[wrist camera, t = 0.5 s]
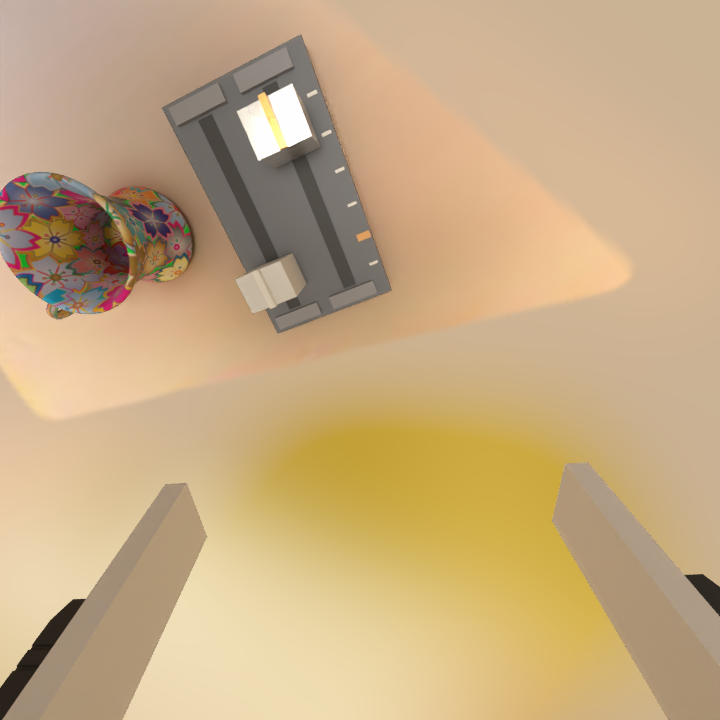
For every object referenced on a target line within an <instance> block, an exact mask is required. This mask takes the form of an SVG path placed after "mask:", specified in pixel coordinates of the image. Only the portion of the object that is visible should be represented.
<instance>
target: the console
mask: <svg viewBox="0 0 720 720" xmlns="http://www.w3.org/2000/svg"><path fill="white" fill-rule="evenodd" d="M290 84H293V86H294V88H295V89H296V91H297V93H298V94H299V96H300V98H301V99H302V101H303V103H304V104H305V107H306V109H307V112H308V115H309V117H310V120H311V123H312V125H313V128H314V131H315V134H316V136H317V139H318V142H319V144H320V148H318V149H316V150H314V151H311V152H309V153H307V154H305V155H303V156H301V157H298V158H296V159H294V160H292V161H290V162H288V163H286V164H283V165H281V166H279V167H277V168H275V167H272V166H270V165H267V164H265V163H263V162H260V161H258V158H257V156H256V154H255V152H254V149H253V147H252V145H251V143H250V140H249V138H248V136H247V134H246V131H245V129H244V127H243V125H242V122H241V120H240V118H239V116H238V113H237V111H239V110H240V109H242V108H244V107H246V106H248V105H250V104H252V103H254V102H256V101H258V100H259V98H258V95H260V94H262V93H264V92H265V93H266V94H267V96H268V95H270V94H272V93H274V92H276V91H278V90H280V89H282V88H284V87H286V86H288V85H290ZM162 109H163V111H164V113H165V115H166V117H167V118H168V120H169V122H170V124H171V126H172V128H173V130H174V132H175V134H176V136H177V138H178V140H179V142H180V144H181V146H182V148H183V150H184V152H185V154H186V155H187V157H188V159H189V161H190V163H191V165H192V167H193V169H194V171H195V173H196V175H197V177H198V179H199V181H200V183H201V185H202V187H203V189H204V191H205V192H206V194H207V196H208V198H209V200H210V202H211V204H212V206H213V208H214V210H215V212H216V214H217V216H218V218H219V220H220V222H221V224H222V226H223V228H224V229H225V231H226V233H227V235H228V237H229V239H230V241H231V243H232V245H233V247H234V249H235V251H236V253H237V255H238V257H239V259H240V261H241V263H242V264H243V266H244V268H245V270H246V272H247V273H245V274H244V275H242V276H240V277H238V278H237V279H235V281H236V283H237V285H238V287H239V289H240V291H241V293H242V295H243V296H244V298H245V300H246V302H247V304H248V306H249V308H250V310H251V311H252V313H253V314H254V313H257V312H259V311H262V310H264V309H266V311H267V313H268V315H269V317H270V319H271V321H272V323H273V325H274V327H275V329H276V331H277V333H281V332H283V331H286V330H289V329H291V328H294V327H296V326H299V325H302V324H304V323H307V322H310V321H312V320H315V319H318V318H320V317H323V316H326V315H328V314H331V313H334V312H336V311H339V310H341V309H344V308H347V307H349V306H352V305H355V304H357V303H360V302H363V301H365V300H368V299H371V298H373V297H376V296H379V295H381V294H384V293H386V292H389V291H391V287H390V284H389V281H388V279H387V276H386V273H385V270H384V267H383V264H382V262H381V259H380V256H379V253H378V250H377V247H376V245H375V242H374V239H373V236H372V233H371V230H370V228H369V225H368V222H367V219H366V216H365V213H364V211H363V208H362V205H361V202H360V199H359V196H358V194H357V191H356V188H355V185H354V182H353V179H352V177H351V174H350V171H349V168H348V165H347V162H346V160H345V157H344V154H343V151H342V148H341V145H340V143H339V140H338V137H337V134H336V131H335V128H334V126H333V123H332V120H331V117H330V114H329V111H328V109H327V106H326V103H325V100H324V97H323V94H322V92H321V89H320V86H319V83H318V80H317V77H316V75H315V72H314V69H313V66H312V63H311V60H310V58H309V55H308V52H307V49H306V46H305V44H304V41H303V38H302V36H301V35H299V36H297V37H295V38H293V39H291V40H289V41H287V42H286V43H284V44H282V45H280V46H278V47H276V48H274V49H272V50H270V51H268V52H267V53H265V54H263V55H261V56H259V57H257V58H255V59H253V60H251V61H250V62H248V63H246V64H244V65H242V66H240V67H238V68H236V69H234V70H233V71H231V72H229V73H227V74H225V75H223V76H221V77H219V78H217V79H215V80H214V81H212V82H210V83H208V84H206V85H204V86H202V87H200V88H198V89H197V90H195V91H193V92H191V93H189V94H187V95H185V96H183V97H181V98H179V99H178V100H176V101H174V102H172V103H170V104H168V105H166V106H164V107H162Z"/></svg>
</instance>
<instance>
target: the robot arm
mask: <svg viewBox="0 0 720 720" xmlns="http://www.w3.org/2000/svg"><path fill="white" fill-rule="evenodd" d="M552 522H553V523H554V525H555V527H556V529H557V531H558V532H559V534H560V536H561V537H562V539H563V541H564V542H565V544H566V546H567V548H568V549H569V551H570V552H571V554H572V556H573V558H574V560H575V561H576V563H577V565H578V566H579V568H580V570H581V571H582V573H583V575H584V576H585V578H586V580H587V582H588V583H589V585H590V587H591V588H592V590H593V592H594V594H595V595H596V597H597V599H598V600H599V602H600V604H601V606H602V607H603V609H604V611H605V612H606V614H607V616H608V618H609V619H610V621H611V623H612V624H613V626H614V628H615V629H616V631H617V633H618V634H619V636H620V638H621V640H622V641H623V643H624V645H625V647H626V648H627V650H628V652H629V653H630V655H631V657H632V659H633V660H634V662H635V664H636V665H637V667H638V669H639V670H640V672H641V674H642V676H643V677H644V679H645V681H646V682H647V684H648V686H649V688H650V689H651V691H652V693H653V694H654V696H655V698H656V699H657V701H658V703H659V705H660V706H661V708H662V710H663V711H664V713H665V715H666V716H667V718H668V720H720V587H719V586H718V585H716V584H715V583H714V582H712V581H711V580H710V579H708V578H707V577H705V576H704V575H703V574H698V575H684V574H683V573H682V572H681V571H680V569H679V568H678V567H677V566H676V565H675V564H674V562H673V561H672V560H671V559H670V558H669V557H668V556H667V554H666V553H665V552H664V551H663V550H662V548H661V547H660V546H659V545H658V544H657V543H656V541H655V540H654V539H653V538H652V537H651V535H650V534H649V533H648V532H647V531H646V530H645V528H644V527H643V526H642V525H641V524H640V523H639V521H638V520H637V519H636V518H635V517H634V516H633V514H632V513H631V512H630V511H629V510H628V509H627V507H626V506H625V505H624V504H623V503H622V502H621V500H620V499H619V498H618V497H617V496H616V494H615V493H614V492H613V491H612V490H611V489H610V488H609V486H608V485H607V484H606V483H605V482H604V480H603V479H602V478H601V477H600V476H599V475H598V473H597V472H596V471H595V470H594V469H593V468H592V466H591V465H590V464H589V463H569V464H565V466H564V471H563V475H562V480H561V484H560V488H559V493H558V497H557V501H556V506H555V510H554V514H553V519H552ZM206 537H207V535H206V533H205V530H204V527H203V525H202V522H201V520H200V517H199V514H198V512H197V509H196V506H195V504H194V501H193V499H192V496H191V493H190V491H189V488H188V486H187V484H186V483H179V484H165V486H164V487H163V488H162V490H161V491H160V493H159V494H158V496H157V497H156V499H155V500H154V502H153V503H152V504H151V506H150V507H149V509H148V510H147V512H146V513H145V515H144V516H143V517H142V519H141V520H140V522H139V523H138V525H137V526H136V527H135V529H134V530H133V532H132V533H131V535H130V536H129V538H128V539H127V540H126V542H125V543H124V545H123V546H122V548H121V549H120V551H119V552H118V554H117V555H116V556H115V558H114V559H113V561H112V562H111V564H110V565H109V567H108V568H107V569H106V571H105V572H104V574H103V575H102V577H101V578H100V580H99V581H98V582H97V584H96V585H95V587H94V588H93V590H92V591H91V593H90V594H89V595H88V597H87V598H86V599H73V600H72V601H71V602H70V603H69V604H68V605H66V606H65V607H64V608H63V609H62V610H61V611H60V612H59V613H58V614H57V615H56V616H55V617H54V618H53V619H51V620H50V622H49V623H48V624H47V626H46V627H45V628H44V630H43V631H42V632H41V634H40V635H39V636H38V638H37V639H36V640H35V642H34V643H33V645H32V648H31V650H28V651H27V653H26V654H25V655H24V657H23V658H22V659H21V661H20V662H19V664H18V665H17V668H16V670H15V671H13V672H12V673H11V674H10V676H9V677H8V678H7V680H6V681H5V682H4V684H3V685H2V686H1V688H0V720H122V719H123V717H124V715H125V713H126V710H127V709H128V706H129V704H130V702H131V700H132V698H133V696H134V693H135V691H136V689H137V687H138V685H139V683H140V680H141V678H142V676H143V674H144V672H145V670H146V667H147V665H148V663H149V661H150V659H151V657H152V654H153V652H154V650H155V648H156V646H157V644H158V641H159V639H160V637H161V635H162V633H163V631H164V629H165V626H166V624H167V622H168V620H169V618H170V616H171V613H172V611H173V609H174V607H175V605H176V603H177V600H178V598H179V596H180V594H181V591H182V590H183V587H184V585H185V583H186V581H187V578H188V577H189V574H190V572H191V570H192V568H193V566H194V564H195V561H196V559H197V557H198V555H199V553H200V551H201V548H202V546H203V544H204V542H205V540H206Z"/></svg>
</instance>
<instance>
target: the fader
mask: <svg viewBox="0 0 720 720" xmlns="http://www.w3.org/2000/svg"><path fill="white" fill-rule="evenodd" d="M258 98H259V100H258V101H256V102H254V103H252V104H250V105H248V106H246V107H244V108H242V109H240V110H239V111H237V113H238V116H239V118H240V120H241V122H242V125H243V127H244V129H245V131H246V134H247V136H248V138H249V140H250V143H251V145H252V147H253V149H254V152H255V154H256V156H257V158H258V161H260V162H263V163H265V164H267V165H270V166H272V167H275V168H277V167H279V166H281V165H283V164H286V163H288V162H290V161H292V160H294V159H296V158H298V157H301V156H303V155H305V154H307V153H309V152H311V151H314V150H316V149H318V148H320V144H319V142H318V139H317V136H316V134H315V131H314V128H313V125H312V123H311V120H310V117H309V115H308V112H307V109H306V107H305V104H304V103H303V101H302V99H301V98H300V96H299V94H298V93H297V91H296V89H295V88H294V86H293V84H290V85H288V86H286V87H284V88H282V89H280V90H278V91H276V92H274V93H272V94H270V95H268V96H267V94H266V93H265V92H264V93H262V94H260V95H258Z"/></svg>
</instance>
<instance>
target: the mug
mask: <svg viewBox="0 0 720 720" xmlns="http://www.w3.org/2000/svg"><path fill="white" fill-rule="evenodd" d="M192 247H193V246H192V237H191V232H190V229H189V227H188V224H187V222H186V220H185V218H184V217H183V215H182V214H181V212H180V211H179V210H178V209H177V207H176V206H175V205H174V204H173V203H172V202H171V201H169V200H168V199H167V198H165V197H164V196H162V195H161V194H159V193H157V192H155V191H153V190H150V189H147V188H143V187H126V188H122V189H120V190H118V191H116V192H114V193H112V194H111V195H110V196H109V197H105V196H101V195H99V194H97V193H96V192H95V191H93V190H92V189H90V188H89V187H87V186H86V185H84V184H82V183H80V182H78V181H76V180H74V179H72V178H69V177H66V176H63V175H59V174H55V173H47V172H34V173H28V174H25V175H22V176H19V177H17V178H15V179H14V180H12V181H11V182H9V183H8V184H7V185H6V186H5V187H4V188H3V189H2V191H1V192H0V252H1V254H2V256H3V258H4V260H5V262H6V263H7V265H8V266H9V268H10V269H11V271H12V272H13V273H14V275H15V276H16V277H17V278H18V279H19V280H20V281H21V282H22V283H23V284H24V286H26V287H27V288H28V289H29V290H30V291H31V292H33V293H34V294H35V295H36V296H38V297H39V298H41V299H42V300H44V301H46V302H47V303H48V305H47V309H46V310H47V313H48V314H49V315H50V316H51V317H53V318H55V319H63V318H66V317H68V316H70V315H71V314H73V313H80V314H96V313H102V312H106V311H108V310H111V309H113V308H115V307H116V306H118V305H119V304H121V303H122V302H123V301H124V300H125V299H126V298H127V296H128V295H129V294H130V292H131V290H132V288H133V286H134V284H135V283H136V282H137V281H139V280H143V281H147V282H156V283H159V282H166V281H170V280H172V279H174V278H176V277H178V276H179V275H180V274H181V273H182V272H183V271H184V270H185V269H186V267H187V266H188V264H189V262H190V259H191V256H192ZM59 308H60V309H61V310H59V311H58V309H59Z"/></svg>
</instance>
